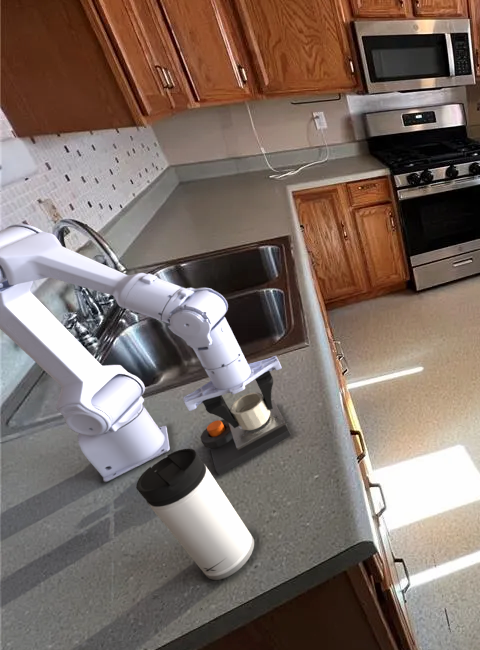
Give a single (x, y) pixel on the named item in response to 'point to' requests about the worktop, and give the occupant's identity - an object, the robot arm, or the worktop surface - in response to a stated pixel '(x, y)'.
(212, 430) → the tare button
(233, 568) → the travel mug
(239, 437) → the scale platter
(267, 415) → the cream hollow cylinder
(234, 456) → the scale
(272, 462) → the worktop surface
